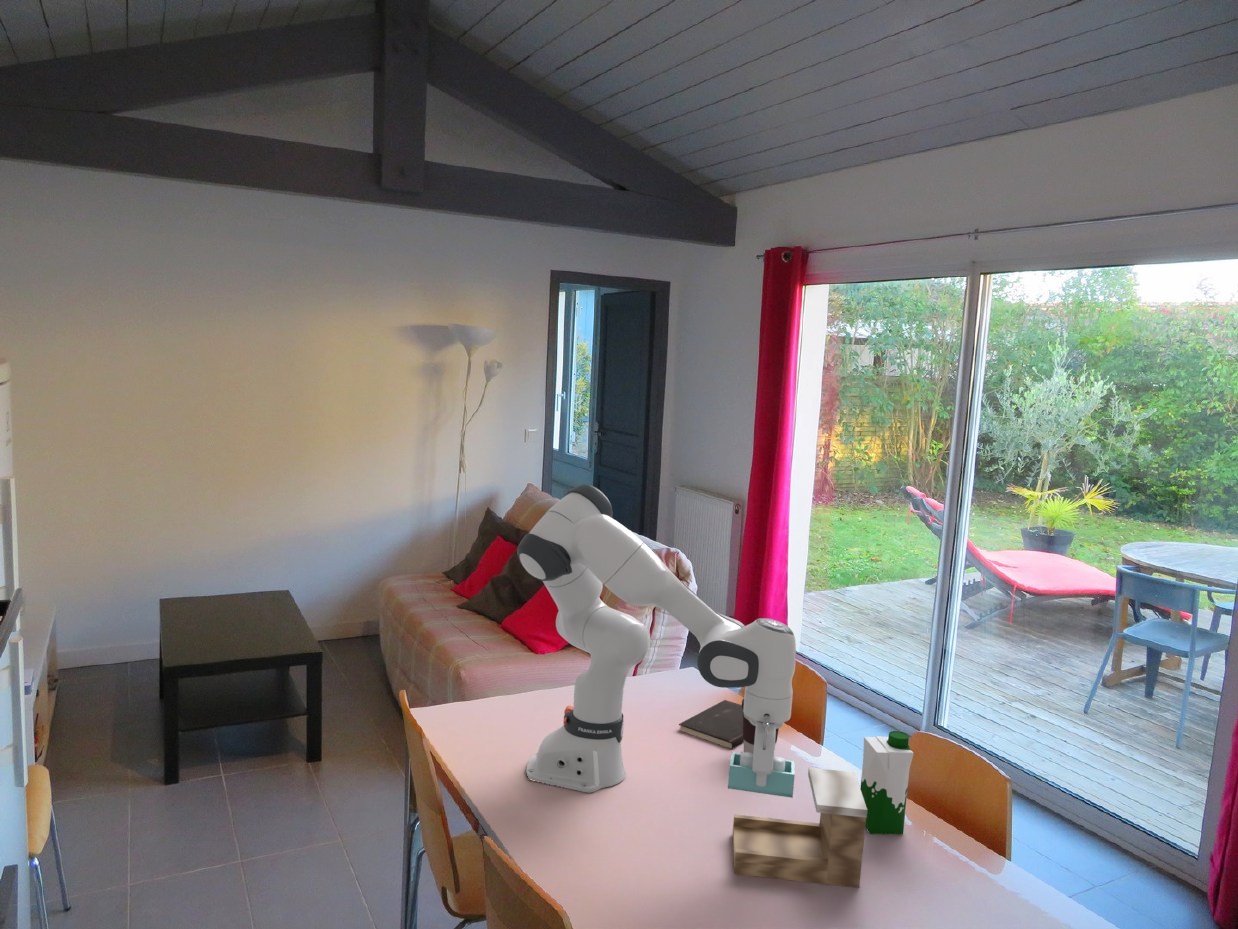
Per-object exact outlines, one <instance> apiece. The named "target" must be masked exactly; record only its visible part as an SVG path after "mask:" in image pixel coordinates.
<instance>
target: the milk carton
mask: <svg viewBox="0 0 1238 929" xmlns="http://www.w3.org/2000/svg"><path fill="white" fill-rule="evenodd" d="M909 739H910V736H909V735H908V733H906V732H903V731H898V730H892V731H889V732H888V736H880V735H879V736H878V735H876V736H863V754H862V768H861V776H860V778H861V779H860V789H861V792H862V795H863V798H864V801H865V804H866V807H867V818H866V824H865V830H867V832H868V833H869V834H870V835H904V830H905V829H904V828H905V827H904V826H905V818H906V806H907V798H908V789H909V788H908V786H909V777H910V768H911V765H912V761H913V757H914V752H913V751H912V748H910V744H909Z"/></svg>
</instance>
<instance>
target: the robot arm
mask: <svg viewBox="0 0 1238 929" xmlns="http://www.w3.org/2000/svg"><path fill="white" fill-rule="evenodd" d="M613 515H614V511H613V507H612V503H611V502H610V500H609V499H608V497H607V496H606V495H605V494H604V492H602V491H601V490H600V489H599V488H597V487H595V486H593V485H589V484H579V485H577V486H575V487H573V488H572V489H571V490H569V491H568V492H567V493H566V495H565V496H564V497H562V498H561V499H560V500H558V501H557V502H555V503H554V505H552V506H551V507H550V508H549V509H548V510H547V511H546V512H545V514H544V515H543V516H542V517H541V518H540V519H539V520H538V521H537V522H536V524H535V525H534V526H533V528H531V530H530V531H529V532H528V533H527V534H525V535H524V536H523V538H522V539H521V541H520V542H519V544H518V546H517V548H516V553H517V558H518V560H519V563H520V564H521V566H522V567H523V568H524V569H525V571H526V572H527V573H528V574H529V575H530V576H532V577H534V578H535V579H536V580H538V581H541V582H543V584H544V586H545V587H546V589H547V591H548V592H549V594H550V597H551V598H552V600H553V602H554V603H555V605H556V607H557V610H558V612H557V614H556V619H555V628H556V631H557V633H558V635H560V636H561V637H562V638H563V639H564V640H565V641H567V643H569V644H570V645H571V646H573V647H576V648H577V649H580V650H582V651H584V652H586V653H589V654H590V663H589V666H588V669H586V670H585V671H582V672H581V673H580V674H579V675H578V676H577V677H576V678H575V680H574V687H573V688H574V689H573V706H572V705H567V706H566V707H565V709H564V715H563V725H562V726H561V727H559V728H557V729H556V730H554V731H553V732H551V733H548V734H547V735H546V736H545V737H544V738H543V740H541V743H540V745H539V748H538V751H537V752H536V753H535V754H534V755H532V756H531V757H530V758H529V759H528V761H527V765H526V769H525V774H526V773H527V776H528V778H529V779H532V780H535V781H539V782H542V783H541V784H544V783H546V784H545V785H549V784H550V785H549V786H554V785H557V786H556V787H559V786H561V787H560V788H563V787H564V789H570V790H575V791H579V792H583V793H589V794H590V793H594V792H596V791H598V790H600V789H604V788H607V787H608V788H609V787H612V786H615V785H617V784H620V783H621V782H622V781H623V780H624V779H625V778H626V770H625V769H626V768H625V765H624V759H623V752H622V751H623V750H622V748H623V747H622V741H623V738H624V725H625V723H624V722H625V721H624V713H623V703H624V702H623V701H624V692H625V691H624V690H625V686H626V681H627V677H628V675H629V673H630V671H631V669H633V667H634V666H636V665H637V664H639V663H640V662H641V661H643V659H645V657H646V656H647V654H648V652H649V649H650V646H651V634H650V630H649V629H648V627H647V626H646V625H645V624H643V623H642V622H641V621H640V620H638V619H637V618H635V617H634V616H632V615H631V614H628V613H626V612H624V611H623V612H622V611H620V610H618V609H614V608H612V607H610V606H609V605H607V604H606V603H604V602H603V600H602V599H601V598H600V596H601V594H602V591H603V588H604V587H603V585H604V586H605V587H606V588H607V589H608V590H609V591H610V592H611V593H612V594H613V595H615V596H616V597H617V598H618V599H620V600H622V601H623V602H625V603H627V604H628V605H629V606H634V607H647V606H648V607H656V608H660V609H661V610H663V611H665V612H667V613H668V614H670V616H671V617H672V618H674V619H675V620H677V622H679V623H680V624H681V625H682V626H683V627H685V629H686V630H688V631H689V632H690V633H692V635H694V637H696V639H697V642H698V643H699V645H700V649H699V651H698V652H699V653H698V655H697V669H698V672H699V673H700V676H701V677H702V678H703V679H704V681H705V682H707V683H708V684H710V685H711V686H714V687H716V688H724V689H727V688H729V689H730V688H731V689H732V688H744V698H743V699H744V709H743V711H744V714H745V715H746V716H748V717H749V721H750V723H751V724H753V725H754V726H756V729H755V740H754V752H753V763H752V770H753V772H755V773H757V778H756V784H757V785H758V786H763V787H764V786H765V785H766V778H767V774H771V773H772V771H773V761H774V757H775V751H774V750H776V744H775V737H776V729H778V728H779V729H781V728H782V727H783V726H784V723H785V722H789V720H790V719H791V717H792V706H793V705H792V704H793V696H794V695H793V694H794V690H793V685H792V681H793V678H794V674H795V669H796V656H797V655H796V654H797V652H796V651H797V649H796V648H797V647H796V646H797V644H796V643H797V642H796V636H795V634H794V632H793V631H792V629H791V628H790V627H789V626H788V625H787V624H785V623H783V622H781V621H778V620H775V619H772V618H761V617H760V618H757V619H755V620H754V621H753V622H751V623H749V624H746V625H745V624H743V623H742V622H741V621H739V620H737V619H735V618H733V617H729V616H728V615H724V614H722V613H720V612H718V611H716V610H715V609H714V608H713V607H711V606H710V605H709V604H708V603H707V602H706V601H704V600H703V599H702V598H701V597H700V596H698V595H697V594H696V593H695V592H694V591H693V590H691V589H690V587H688V586H687V585H686V584H684V583H683V582H682V580H680V579H679V578H678V577H677V576H676V575H675V574H674V573H673V571H671V570H670V568H668V566H667V565H666V564H665V563H664V562H663V561H662V559H661V558H660V557H659V556H658V555H657V554H656V553H655V552H654V551H653V549H651V548H650V547H649V546H648V545H647V544H646V543H645V542H644V541H643V540H641V538H639V537H638V536H637V535H636V534H635V533H633V531H631V530H630V529H629V528H627V527H626V526H624V525H623V524H621V523H620V522H619V521H618V520H616V519H614V518H613ZM527 776H526V777H527ZM528 778H527V779H528ZM529 779H528V780H529ZM539 782H538V783H539Z"/></svg>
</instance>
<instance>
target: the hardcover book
mask: <svg viewBox="0 0 1238 929" xmlns="http://www.w3.org/2000/svg"><path fill="white" fill-rule="evenodd" d="M743 714H744V711H743V709H742V704H740V703H736V702H733V701H730V700H727V699H723V700H721V701H720V702H718V703H717V704H714V705H712V706H711V707H708V708H706V709H705V710H703V711H700V712H699V713H697V714H694V715H693V716H690V718H688V719H687V718H686V719H685V720H684V721H682V722H680V723H678V726H680V727H679V729H680V730H681V731H680V730H679V731H680V732H684V733H685V734H686V733H687V734H688V735H691V736H695V737H698V738H700V739H703V740H706V741H708V742H712V743H713V744H717V743H718V744H717V745H719V744H720V745H719V746H722V745H723V747H726V748H728V749H731V750H734V749H735V748H737V747H738V746H740V745H742V744H744V739H743ZM733 748H734V749H733Z"/></svg>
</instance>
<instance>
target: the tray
mask: <svg viewBox="0 0 1238 929" xmlns="http://www.w3.org/2000/svg"><path fill="white" fill-rule="evenodd" d="M730 754H731V756H730V759H729V760H730V761H729V768H728V769H729V770H728V782H727V789H729V790H738V791H743V792H751V793H757V794H763V795H770V796H778V797H784V798H791V799H793V797H794V787H795V786H794V785H795V775H796V774H795V773H796V771H795V768H796V766H795V760H791V759H785V758H783V757H781V756H774V761H773V771H772V773H771V774H767V778H766V785H765V786H764V787H763V786H758V785H757V784H756V778H757V773H755V772H753V770H752V763H753V754H752V753H748V752H744V751H743V752H741V753H740V752H731V753H730Z"/></svg>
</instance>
